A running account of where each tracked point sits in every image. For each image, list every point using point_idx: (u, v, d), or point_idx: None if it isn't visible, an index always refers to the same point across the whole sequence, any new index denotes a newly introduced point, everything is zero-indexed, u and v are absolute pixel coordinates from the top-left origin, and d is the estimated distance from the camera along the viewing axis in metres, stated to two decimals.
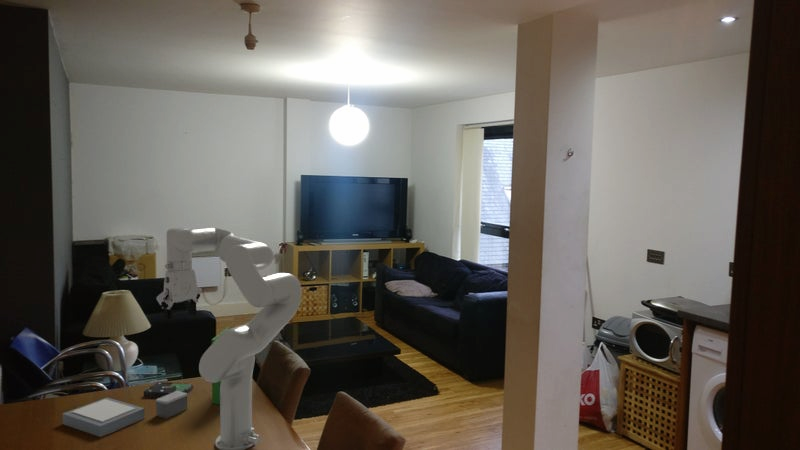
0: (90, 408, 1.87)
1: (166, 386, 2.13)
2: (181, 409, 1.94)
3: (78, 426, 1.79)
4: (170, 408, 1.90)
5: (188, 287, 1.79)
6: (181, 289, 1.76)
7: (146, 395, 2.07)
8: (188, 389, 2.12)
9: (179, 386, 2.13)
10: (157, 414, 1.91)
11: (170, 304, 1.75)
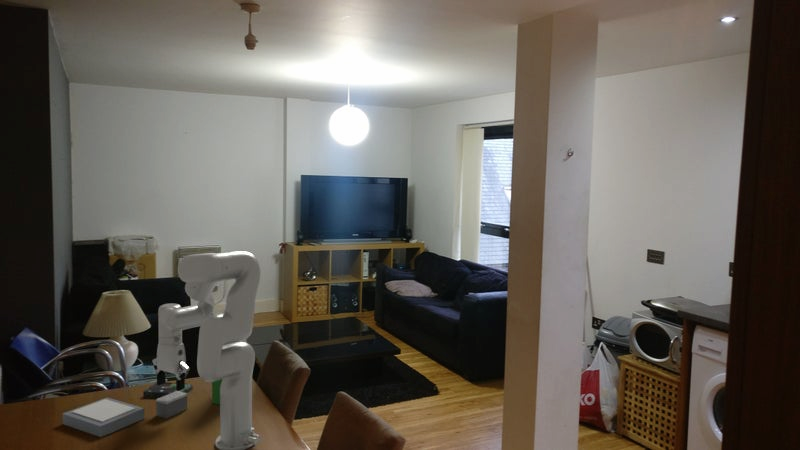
0: (90, 408, 1.87)
1: (166, 386, 2.12)
2: (181, 409, 1.94)
3: (78, 426, 1.79)
4: (170, 408, 1.90)
5: None
6: None
7: (146, 395, 2.07)
8: (188, 389, 2.12)
9: None
10: (157, 414, 1.91)
11: None
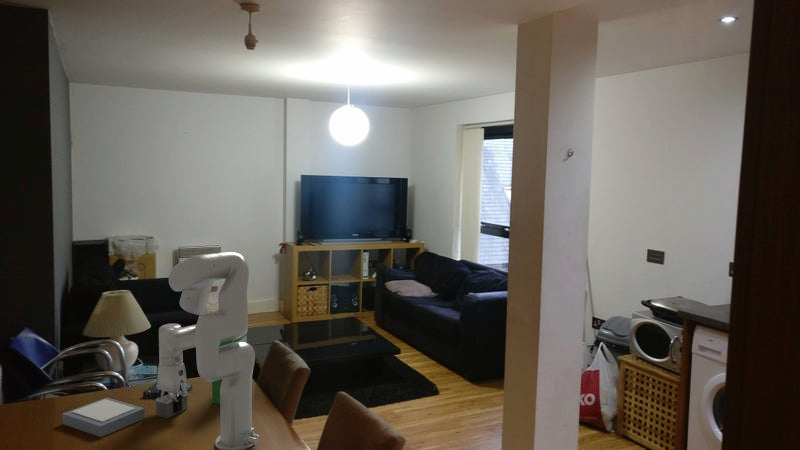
0: (90, 408, 1.87)
1: None
2: None
3: (78, 426, 1.79)
4: (170, 408, 1.90)
5: None
6: None
7: (146, 396, 2.07)
8: (188, 389, 2.12)
9: None
10: (157, 414, 1.91)
11: None
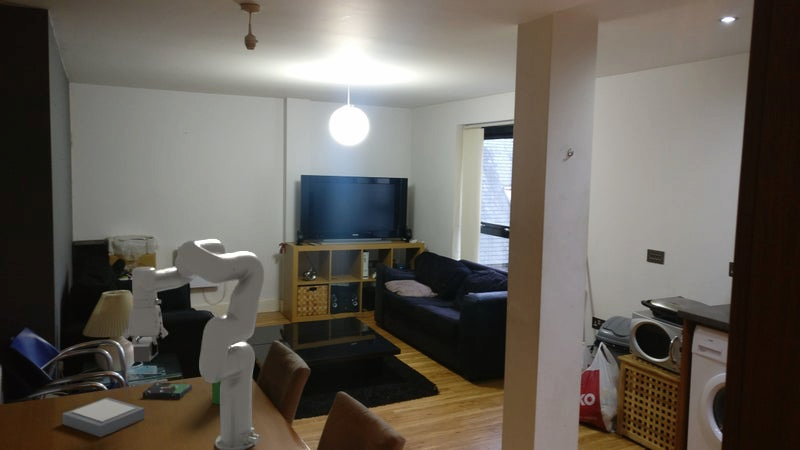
0: (90, 408, 1.87)
1: (165, 387, 2.12)
2: None
3: (78, 426, 1.79)
4: (150, 350, 1.87)
5: None
6: None
7: (145, 396, 2.06)
8: (187, 389, 2.12)
9: (177, 386, 2.13)
10: (135, 359, 1.85)
11: None
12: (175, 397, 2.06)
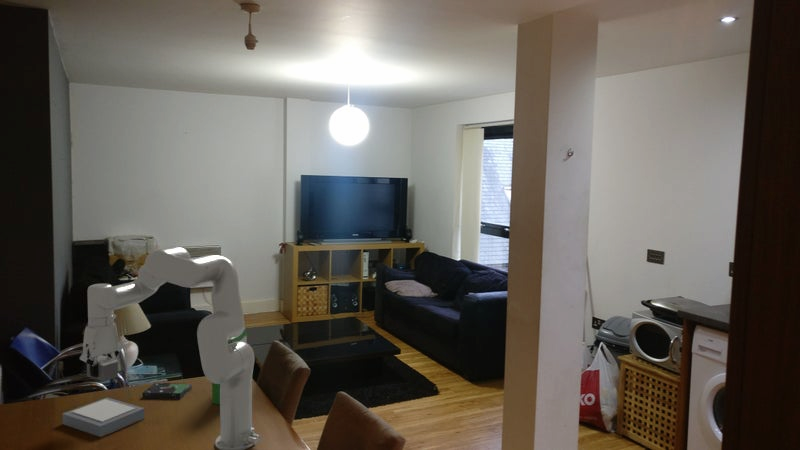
0: (90, 408, 1.87)
1: (164, 387, 2.12)
2: None
3: (78, 426, 1.79)
4: None
5: None
6: None
7: (145, 396, 2.06)
8: (187, 389, 2.12)
9: (177, 386, 2.13)
10: (105, 378, 1.81)
11: None
12: (175, 397, 2.06)
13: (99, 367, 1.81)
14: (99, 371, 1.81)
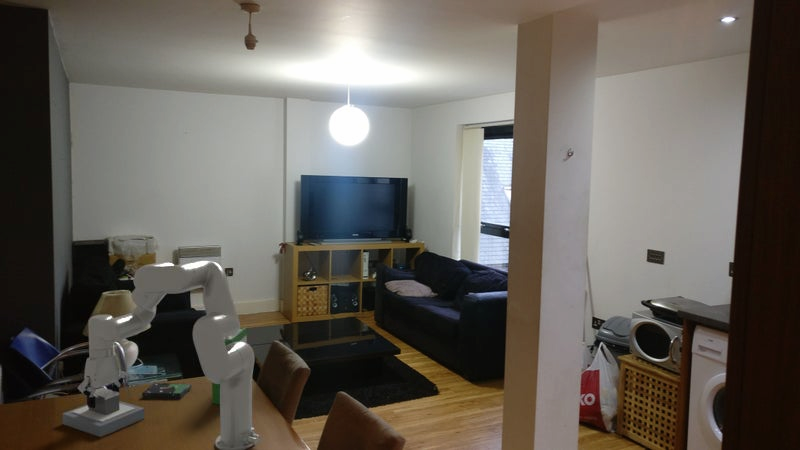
0: None
1: (164, 387, 2.12)
2: None
3: (78, 426, 1.79)
4: None
5: None
6: None
7: (145, 396, 2.06)
8: (187, 389, 2.12)
9: (177, 386, 2.13)
10: (107, 412, 1.82)
11: None
12: (175, 397, 2.06)
13: (101, 401, 1.82)
14: (101, 405, 1.82)
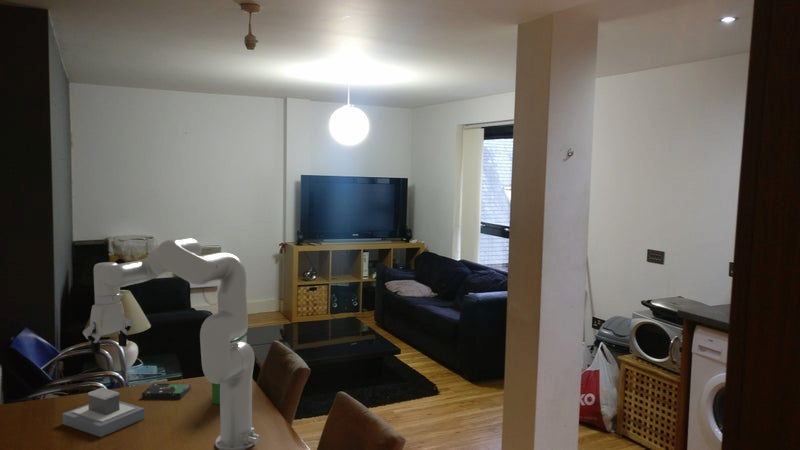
0: None
1: (164, 387, 2.12)
2: None
3: (78, 426, 1.79)
4: None
5: None
6: None
7: (145, 397, 2.06)
8: (187, 389, 2.12)
9: (176, 386, 2.13)
10: (107, 412, 1.82)
11: None
12: (175, 397, 2.06)
13: (101, 401, 1.82)
14: (101, 405, 1.82)
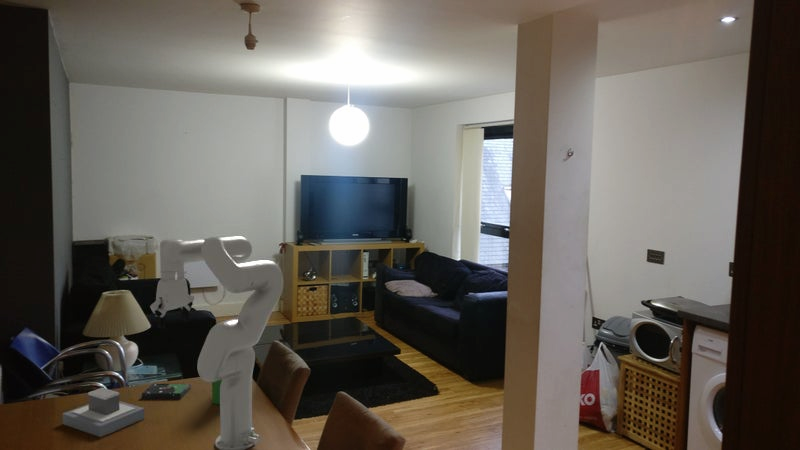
0: None
1: (163, 387, 2.11)
2: None
3: (78, 426, 1.79)
4: None
5: None
6: None
7: (144, 397, 2.05)
8: (187, 389, 2.12)
9: (176, 386, 2.13)
10: (107, 412, 1.82)
11: None
12: (175, 397, 2.06)
13: (101, 401, 1.82)
14: (101, 405, 1.82)
